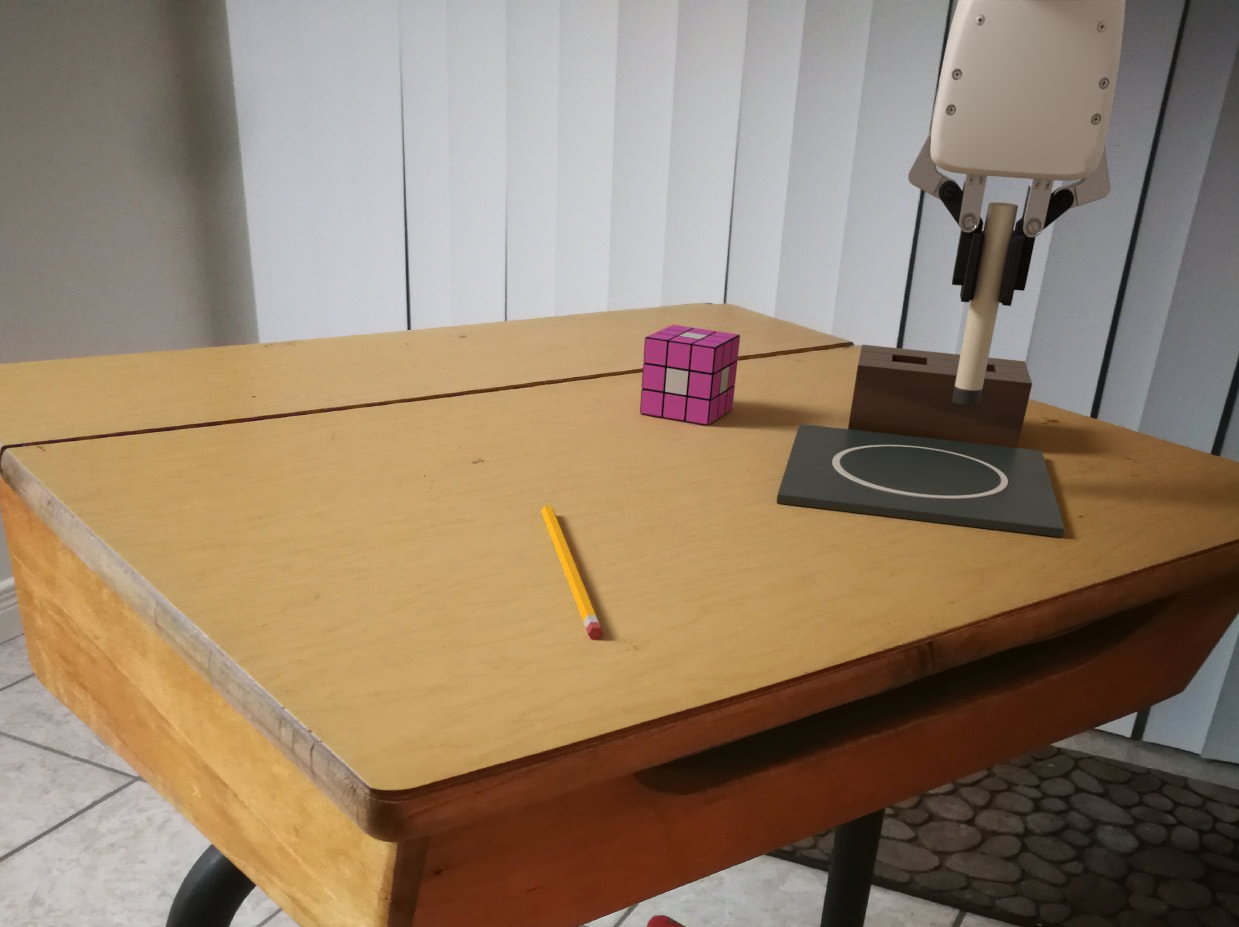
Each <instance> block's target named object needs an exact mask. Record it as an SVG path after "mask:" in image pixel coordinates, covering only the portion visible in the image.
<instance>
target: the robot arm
mask: <svg viewBox="0 0 1239 927" xmlns="http://www.w3.org/2000/svg"><path fill="white" fill-rule="evenodd" d="M1125 13H1126V0H958V1H957V4H956V7H955V11H954V15H953V18H952V22H951V25H950V30H949V33H948V37H947V41H946V42H947V43H946V45H945V49H944V50H945V51H944V55H943V60H942V66H941V70H940V75H939V81H938V85H937V89H936V90H937V91H936V95H935V100H934V106H933V111H932V117H931V121H930V122H931V123H930V130H929V133H928V135H927V137H926V138H925V140H924V142H923V144H922V146H921V148H920V150H919V151H918V154H917V155H916V157H915V159H914V161H913V162H912V165H911V166H910V169H909V171H908V174H907V179H908V182H909V183H910V184H911V185H912V186H914V187H915V188H917V189H920V190H921V191H923V192H924V193H927V194H928V195H930V196H933V197H934V198H936V199H938V200H940V201H941V202H942V204H943V205H944V207H945V208H946V210H947V211H948V213H949V214H950V215H951V217H952V218H953V219H954V221H955V222H956V224H957V225H958V227H959V229H960V233H959V239H958V244H957V250H956V255H955V260H954V261H955V262H954V267H953V272H952V278H951V285H952V286H961V287H960V293H959V298H960V302H961V303H970V301H973V298H974V293H975V287H976V282H977V277H978V271H979V266H980V261H981V255H982V250H983V244H984V239H985V235H984V234H983V229H984V220H983V218H982V217H981V214H982V208H983V202H984V196H985V191H986V184H987V178H988V177H1000V178H1014V179H1028V183H1027V188H1026V192H1025V198H1024V202H1023V207H1022V211H1021V217H1020V219H1018V220H1016V221H1015V225H1014V230H1013V235H1012V236H1011V242H1010V247H1009V252H1008V257H1007V262H1006V267H1005V272H1004V277H1003V282H1002V288H1001V293H1000V298H999V304H1001V306H1005V307H1006V306H1007V307H1012V303H1013V298H1014V294H1015V291H1021V292H1023V291H1025V289H1026V287H1027V286H1026V285H1027V281H1028V277H1029V271H1030V265H1031V262H1032V256H1033V252H1034V246H1035V243H1036V242H1035V241H1036V238H1037V237H1038V236H1040V235H1041V233H1043V231H1044V230H1045V229H1046V228H1048V227H1049V226H1050V225H1051V224H1053V223H1054V222H1055V221H1056V220H1058V219H1059V218H1060V217H1061V216H1063V215H1064V214H1065V213H1066V212H1067V211H1068V210H1070V209H1073V208H1077V207H1080V206H1083V205H1086V204H1090V203H1092V202H1096V201H1098V200H1102V199H1104V198H1106V197H1108V195H1109V194H1110V192H1111V179H1110V172H1109V164H1108V158H1107V151H1106V149H1107V148H1106V141H1107V137H1108V131H1109V127H1110V122H1111V116H1112V110H1113V105H1114V100H1115V92H1116V87H1117V81H1118V76H1119V75H1118V74H1119V68H1120V61H1121V55H1122V44H1123V34H1124V26H1125V16H1126V15H1125ZM937 167H938V168H939V169H942V170H943V171H946V172H949V173H955V174H961V175H962V174H963V175H964V177H963V184H962V188H961V187H960V185H959V184H958V183H957V181H956V180H955V179H952V178H951V177H949V176H946V175H945V174H943V173H942V172H940V171H939V170H938V169H937ZM1055 181H1059V182H1061V181H1062V182H1063V181H1068V182H1069V181H1076V182H1073V183H1071V184H1067V185H1065V186H1059V187H1058V188H1056V189H1054V191H1053V186H1054V182H1055Z"/></svg>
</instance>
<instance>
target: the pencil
mask: <svg viewBox="0 0 1239 927" xmlns="http://www.w3.org/2000/svg"><path fill="white" fill-rule="evenodd" d="M540 512H541V515H542V517H543V520H544V523H545V525H546V528H547V531H548V533H549V535H550V538H551V541H552V543H553V546H554V550H555V552H556V554H557V557H558V559H559V562H560V564H561V568H562V571H563V573H564V575H565V578H566V580H567V583H568V586H569V588H570V591H571V593H572V597H573V599H574V602H575V604H576V607H577V609H578V612H579V614H580V617H581V620H582V622H583V625H584V628H585V630H586V632H587V635H588V637H589V638H590V640H594V641H595V640H601V639H602V637H603V635H604V634H605V633H604V631H603V628H602V626H601V623H600V621H599V618H598V615H597V614H596V611H595V608H594V606H593V603H592V601H591V599H590V596H589V593H588V591H587V589H586V586H585V584H584V581H583V579H582V576H581V574H580V571H579V569H578V567H577V564H576V562H575V559H574V557H573V554H572V552H571V550H570V546H569V544H568V542H567V540H566V537H565V535H564V533H563V529H562V528H561V525H560V522H559V520H558V518H557V515H556V513H555V510H554V508H553V506H552V505H543V507H542V509H541V510H540Z"/></svg>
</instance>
